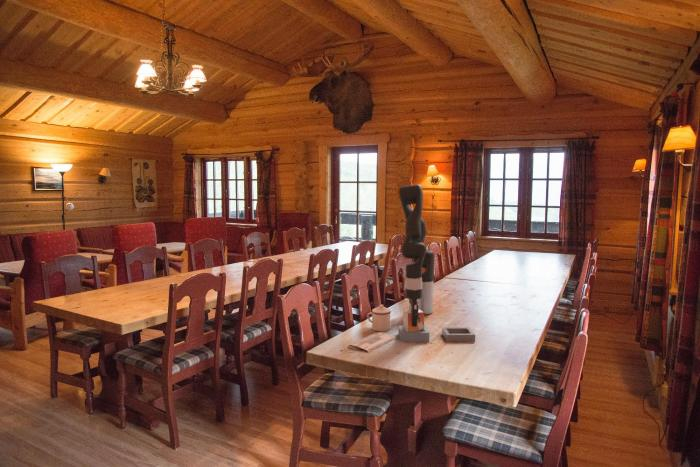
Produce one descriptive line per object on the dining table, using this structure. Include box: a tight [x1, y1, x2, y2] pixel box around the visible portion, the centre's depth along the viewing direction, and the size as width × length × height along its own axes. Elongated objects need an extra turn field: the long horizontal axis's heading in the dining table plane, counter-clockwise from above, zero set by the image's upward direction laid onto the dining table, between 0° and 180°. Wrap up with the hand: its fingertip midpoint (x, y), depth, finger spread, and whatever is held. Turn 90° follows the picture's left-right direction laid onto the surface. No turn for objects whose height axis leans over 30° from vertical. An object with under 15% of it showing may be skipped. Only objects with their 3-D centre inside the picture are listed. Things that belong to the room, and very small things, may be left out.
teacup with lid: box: [366, 304, 392, 332], centre depth 225 cm, size 12×9×12 cm
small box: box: [402, 309, 425, 332], centre depth 211 cm, size 8×6×10 cm
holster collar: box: [441, 326, 476, 342], centre depth 211 cm, size 10×12×3 cm
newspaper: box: [348, 331, 397, 353], centre depth 206 cm, size 23×12×2 cm, turn 142°
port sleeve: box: [398, 324, 430, 343], centre depth 211 cm, size 10×12×4 cm
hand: (413, 323), depth 211 cm, fingers closed on small box, 6 cm apart
